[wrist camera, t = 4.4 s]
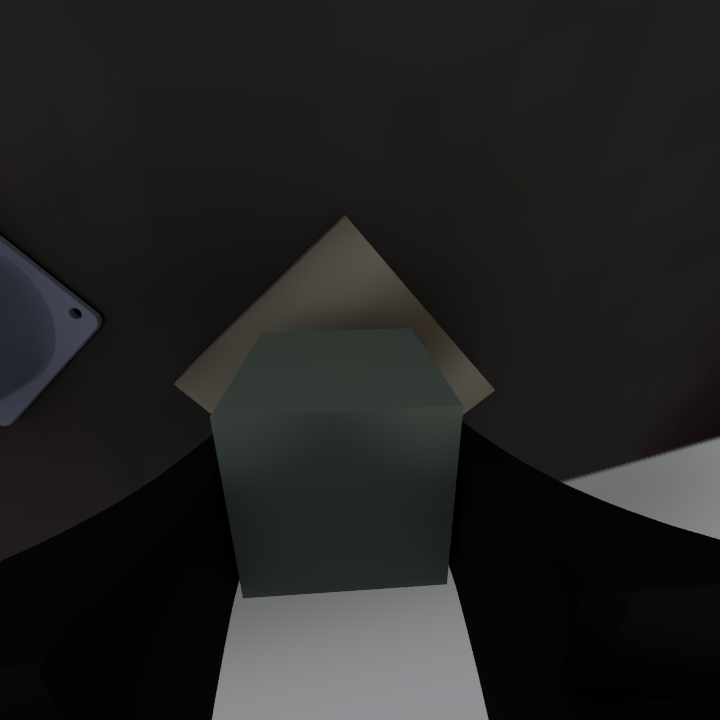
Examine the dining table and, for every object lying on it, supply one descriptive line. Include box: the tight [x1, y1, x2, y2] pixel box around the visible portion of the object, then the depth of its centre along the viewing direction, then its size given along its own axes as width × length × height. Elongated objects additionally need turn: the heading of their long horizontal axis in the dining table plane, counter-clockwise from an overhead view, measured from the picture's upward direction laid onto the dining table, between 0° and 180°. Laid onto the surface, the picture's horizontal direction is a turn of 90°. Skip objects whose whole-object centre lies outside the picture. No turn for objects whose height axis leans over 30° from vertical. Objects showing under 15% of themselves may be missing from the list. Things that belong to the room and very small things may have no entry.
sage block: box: [210, 328, 463, 598], centre depth 10 cm, size 4×4×5 cm
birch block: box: [174, 215, 495, 415], centre depth 18 cm, size 10×10×3 cm
